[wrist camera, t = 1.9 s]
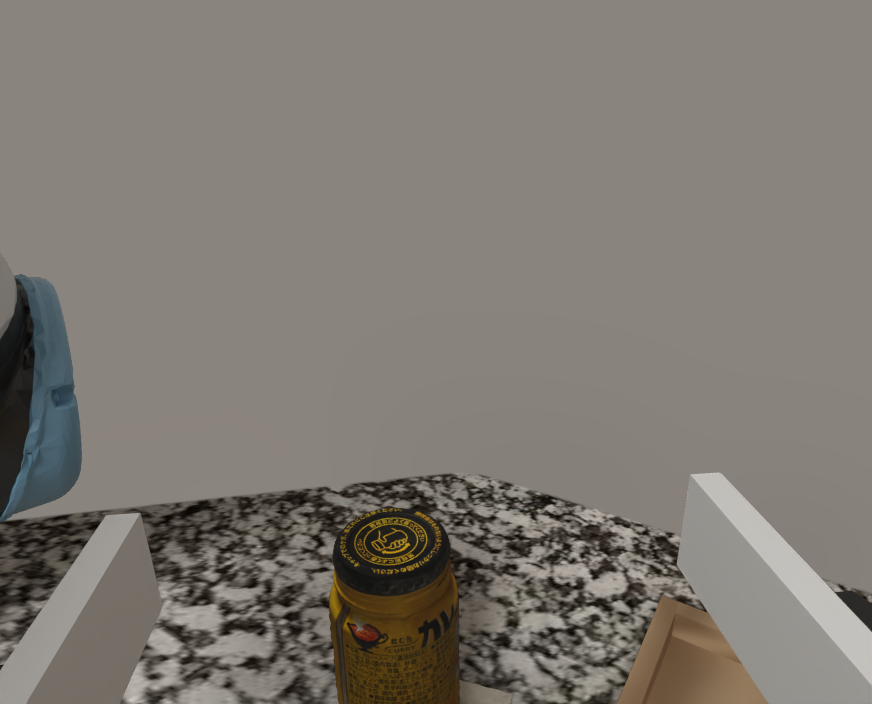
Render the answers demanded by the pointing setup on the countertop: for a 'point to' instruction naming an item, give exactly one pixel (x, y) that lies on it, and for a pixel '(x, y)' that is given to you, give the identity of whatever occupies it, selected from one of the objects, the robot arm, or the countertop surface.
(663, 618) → the tray
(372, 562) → the condiment
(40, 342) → the robot arm
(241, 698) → the countertop surface
